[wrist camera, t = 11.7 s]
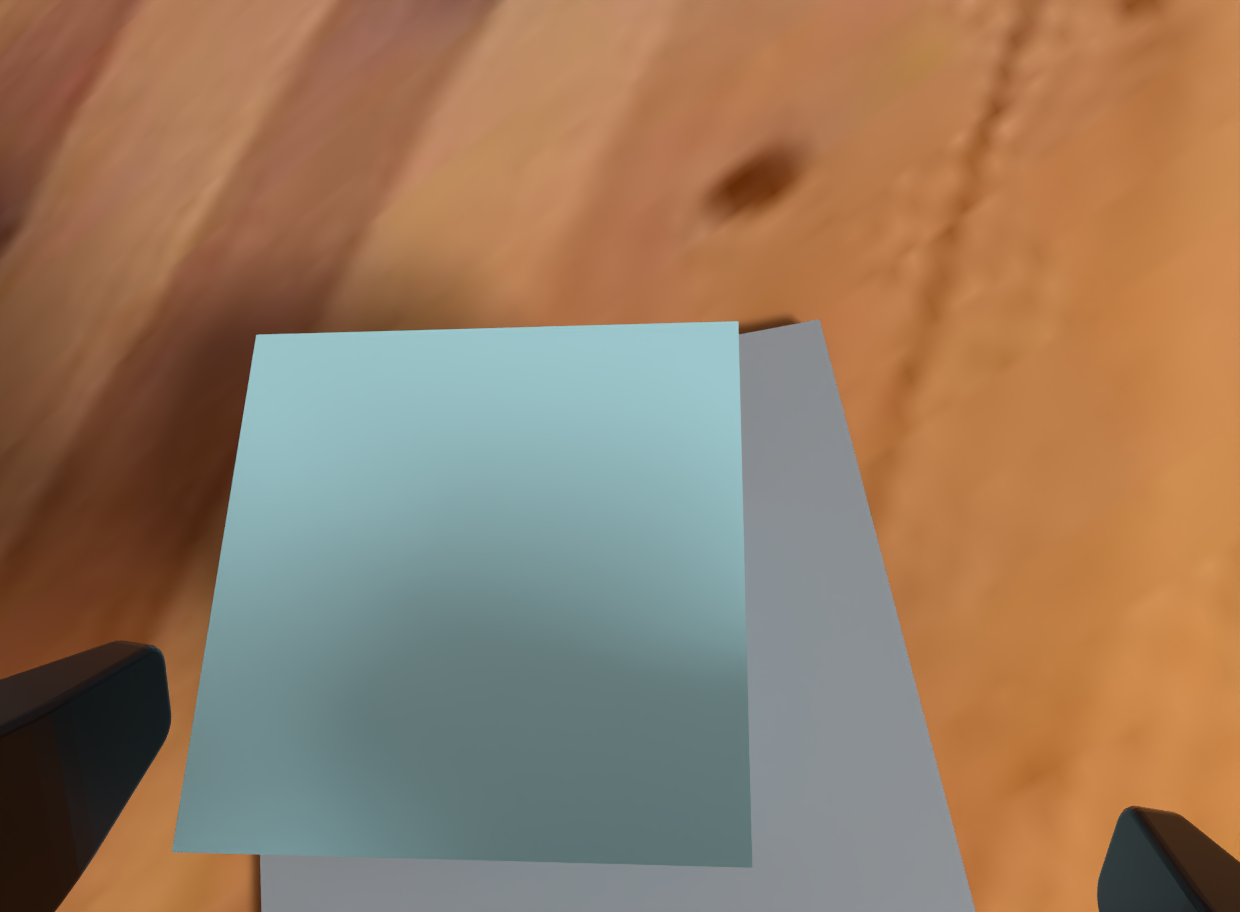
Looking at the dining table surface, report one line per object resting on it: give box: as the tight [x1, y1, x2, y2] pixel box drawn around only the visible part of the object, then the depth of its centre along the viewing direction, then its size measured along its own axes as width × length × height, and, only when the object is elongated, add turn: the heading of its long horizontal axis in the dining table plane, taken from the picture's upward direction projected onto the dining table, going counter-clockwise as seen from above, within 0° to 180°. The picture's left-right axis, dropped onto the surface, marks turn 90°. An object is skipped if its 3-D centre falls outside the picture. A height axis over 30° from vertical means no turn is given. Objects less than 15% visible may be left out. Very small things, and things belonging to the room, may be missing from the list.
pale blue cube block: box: [172, 321, 752, 868], centre depth 16 cm, size 7×7×9 cm
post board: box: [260, 320, 976, 912], centre depth 19 cm, size 14×14×4 cm
